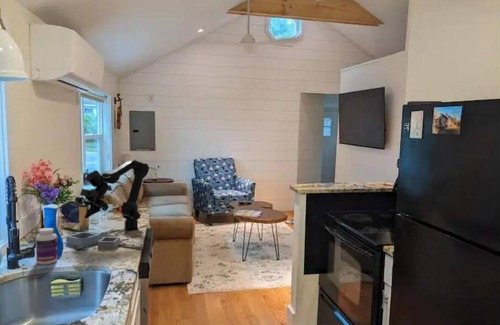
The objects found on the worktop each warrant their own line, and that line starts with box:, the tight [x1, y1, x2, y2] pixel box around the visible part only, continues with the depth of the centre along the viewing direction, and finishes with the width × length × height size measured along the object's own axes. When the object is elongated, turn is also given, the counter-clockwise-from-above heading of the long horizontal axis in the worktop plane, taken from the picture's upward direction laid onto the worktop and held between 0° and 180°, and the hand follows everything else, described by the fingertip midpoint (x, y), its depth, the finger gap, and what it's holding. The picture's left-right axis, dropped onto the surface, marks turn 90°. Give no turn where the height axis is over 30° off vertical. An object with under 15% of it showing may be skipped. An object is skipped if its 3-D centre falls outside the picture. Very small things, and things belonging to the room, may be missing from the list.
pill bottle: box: [35, 228, 58, 266], centre depth 161 cm, size 8×8×14 cm
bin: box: [65, 231, 101, 249], centre depth 189 cm, size 11×11×4 cm
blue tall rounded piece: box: [35, 197, 63, 236], centre depth 204 cm, size 15×10×20 cm
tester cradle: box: [97, 236, 121, 250], centre depth 185 cm, size 8×8×4 cm
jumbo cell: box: [78, 203, 90, 232], centre depth 187 cm, size 4×4×13 cm
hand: (81, 217), depth 186 cm, fingers closed on jumbo cell, 4 cm apart
